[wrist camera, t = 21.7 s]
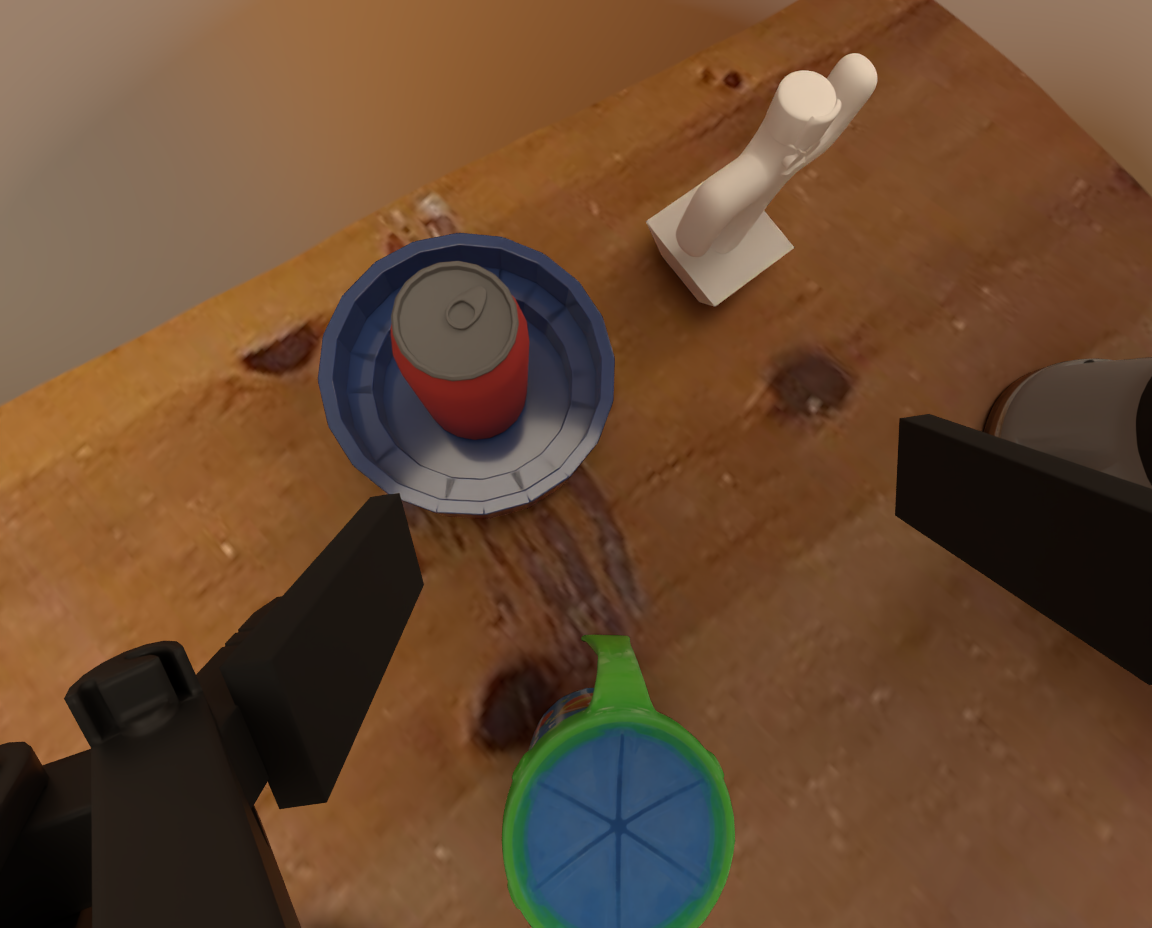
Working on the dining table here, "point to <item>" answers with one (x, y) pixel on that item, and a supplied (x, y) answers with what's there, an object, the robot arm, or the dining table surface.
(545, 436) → the bowl
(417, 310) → the beer can
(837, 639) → the dining table surface
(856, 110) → the figurine
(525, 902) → the snack cup
